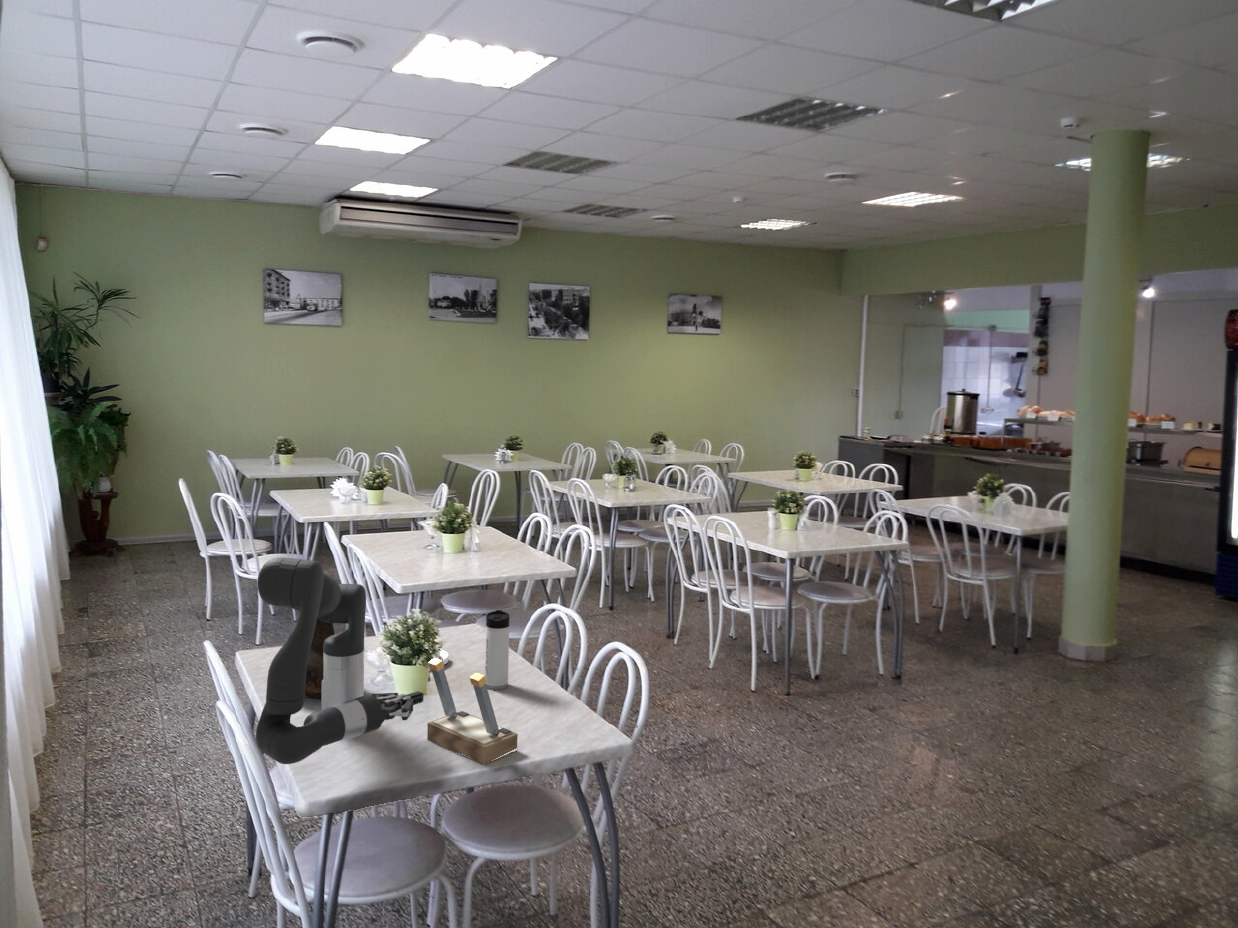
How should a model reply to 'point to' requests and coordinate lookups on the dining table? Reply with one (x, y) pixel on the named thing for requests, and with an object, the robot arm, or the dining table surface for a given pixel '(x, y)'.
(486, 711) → the lever
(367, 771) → the dining table surface
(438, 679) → the lever
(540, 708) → the dining table surface
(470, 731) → the switch unit
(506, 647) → the travel mug
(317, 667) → the brown vase
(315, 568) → the robot arm
